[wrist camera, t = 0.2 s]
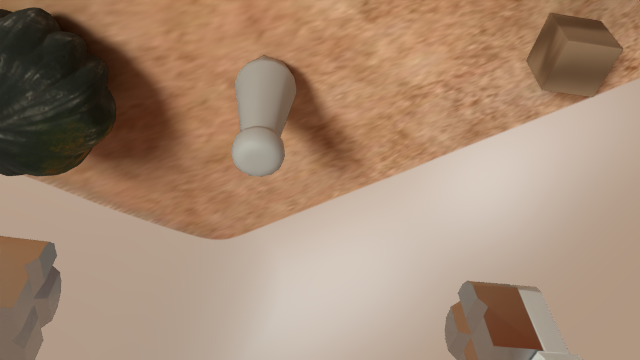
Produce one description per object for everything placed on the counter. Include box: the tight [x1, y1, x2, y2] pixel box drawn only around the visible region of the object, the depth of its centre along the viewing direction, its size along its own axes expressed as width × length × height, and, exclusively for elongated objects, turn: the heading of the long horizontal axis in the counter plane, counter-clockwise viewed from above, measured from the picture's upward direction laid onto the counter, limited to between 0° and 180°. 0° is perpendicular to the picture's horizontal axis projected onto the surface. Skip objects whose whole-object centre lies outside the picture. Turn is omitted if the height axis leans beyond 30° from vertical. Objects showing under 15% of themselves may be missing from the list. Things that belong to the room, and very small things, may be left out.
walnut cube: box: [526, 13, 623, 97], centre depth 49 cm, size 5×5×5 cm
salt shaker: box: [232, 55, 297, 177], centre depth 48 cm, size 6×6×13 cm
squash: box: [0, 8, 116, 176], centre depth 47 cm, size 14×15×15 cm
